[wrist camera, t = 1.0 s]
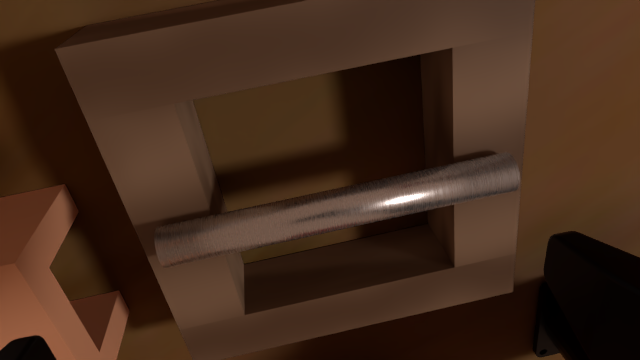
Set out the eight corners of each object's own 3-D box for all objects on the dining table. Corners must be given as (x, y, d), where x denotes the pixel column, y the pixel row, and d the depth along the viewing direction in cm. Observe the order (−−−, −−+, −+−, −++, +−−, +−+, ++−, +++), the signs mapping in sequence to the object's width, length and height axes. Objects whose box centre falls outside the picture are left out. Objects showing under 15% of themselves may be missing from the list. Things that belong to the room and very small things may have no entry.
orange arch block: (129, 310, 25) (104, 403, 20) (53, 327, 25) (10, 425, 20) (65, 183, 21) (14, 263, 16) (-27, 203, 21) (-105, 288, 16)
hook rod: (499, 178, 20) (518, 198, 19) (171, 250, 19) (165, 276, 18) (500, 145, 19) (521, 163, 18) (158, 218, 18) (151, 243, 17)
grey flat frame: (480, 247, 27) (512, 291, 23) (200, 311, 26) (195, 365, 23) (488, -52, 19) (538, -45, 16) (86, 25, 18) (54, 49, 15)
